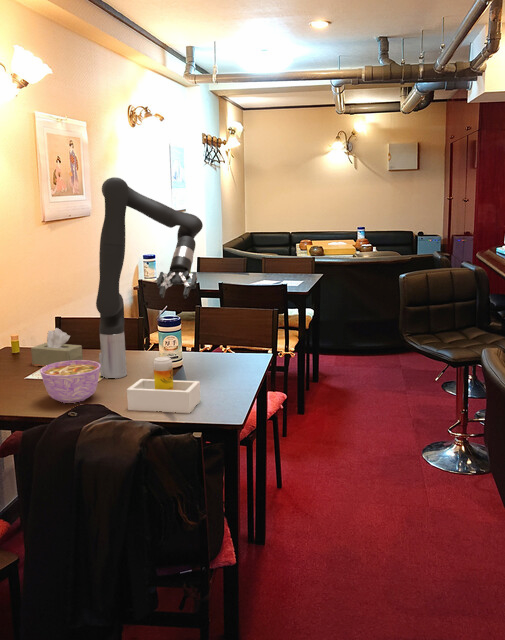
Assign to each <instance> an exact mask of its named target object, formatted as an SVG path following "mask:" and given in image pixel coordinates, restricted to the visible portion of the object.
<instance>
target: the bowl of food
mask: <svg viewBox="0 0 505 640" xmlns="http://www.w3.org/2000/svg"><path fill="white" fill-rule="evenodd" d="M100 367H101V365H100V362H98V361H94V360H86V359H83V360H72V361H63V362H58V363H53V364H50V365H47V366H45V367H40V370H39V373H40V376H41V378H42V382H43V384H44V386H45V387H44V388H45V389H46V392H47V394H48V395H49V397H50V398H51V399H53V400H55V401H58V402H61V403H62V402H63V403H62V404H65V403H74V404H76V403H75V402H79V403H81V402H80V401H82V402H84V401H85V400H86V399H89V398H90V397H91V396H92V395H94V394H95V392H96V391H97V386H98V384H99V379H100Z"/></svg>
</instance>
